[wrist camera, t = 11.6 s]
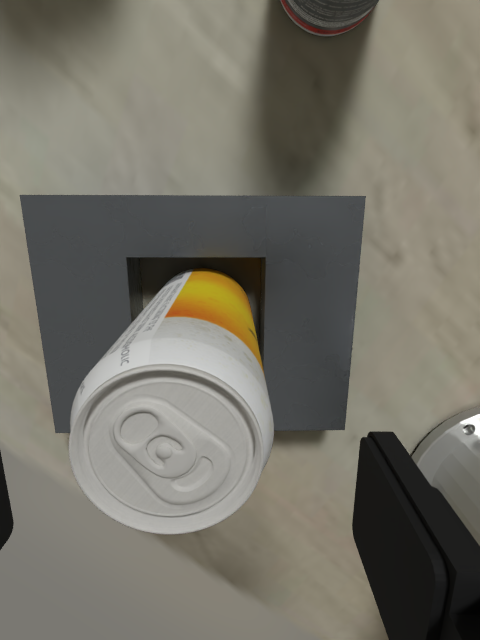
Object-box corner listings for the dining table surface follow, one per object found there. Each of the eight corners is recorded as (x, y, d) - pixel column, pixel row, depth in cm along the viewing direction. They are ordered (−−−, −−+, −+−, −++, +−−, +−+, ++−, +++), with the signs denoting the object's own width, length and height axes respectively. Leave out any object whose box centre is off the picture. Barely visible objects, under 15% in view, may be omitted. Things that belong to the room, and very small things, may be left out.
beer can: (202, 373, 26) (166, 579, 12) (137, 309, 25) (5, 452, 10) (269, 315, 25) (323, 462, 11) (205, 245, 24) (167, 303, 9)
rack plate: (348, 197, 23) (366, 196, 20) (332, 406, 27) (345, 431, 24) (46, 196, 23) (17, 194, 19) (74, 408, 26) (54, 434, 23)
